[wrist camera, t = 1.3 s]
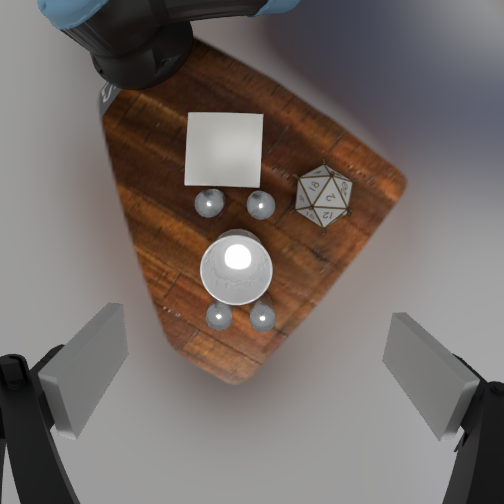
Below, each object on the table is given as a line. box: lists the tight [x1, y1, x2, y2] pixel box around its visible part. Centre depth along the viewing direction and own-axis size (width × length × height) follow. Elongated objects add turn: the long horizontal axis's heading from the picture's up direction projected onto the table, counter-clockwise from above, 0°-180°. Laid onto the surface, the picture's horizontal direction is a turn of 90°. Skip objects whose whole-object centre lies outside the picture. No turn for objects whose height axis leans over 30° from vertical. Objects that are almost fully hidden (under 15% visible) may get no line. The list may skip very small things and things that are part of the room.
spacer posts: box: [195, 189, 276, 332], centre depth 42 cm, size 17×10×7 cm, turn 177°
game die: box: [289, 158, 359, 236], centre depth 40 cm, size 9×8×10 cm
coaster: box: [185, 112, 263, 188], centre depth 42 cm, size 10×10×1 cm
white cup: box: [200, 228, 272, 305], centre depth 40 cm, size 8×8×10 cm
